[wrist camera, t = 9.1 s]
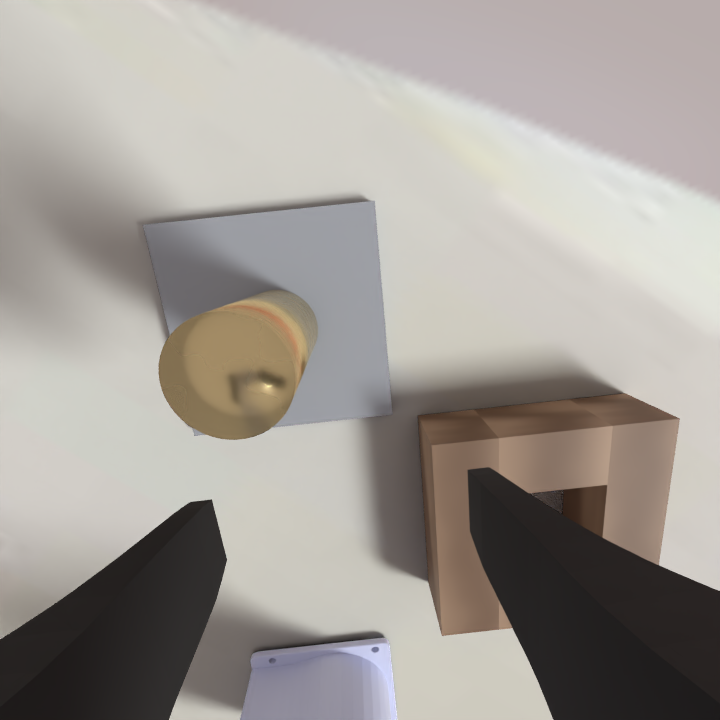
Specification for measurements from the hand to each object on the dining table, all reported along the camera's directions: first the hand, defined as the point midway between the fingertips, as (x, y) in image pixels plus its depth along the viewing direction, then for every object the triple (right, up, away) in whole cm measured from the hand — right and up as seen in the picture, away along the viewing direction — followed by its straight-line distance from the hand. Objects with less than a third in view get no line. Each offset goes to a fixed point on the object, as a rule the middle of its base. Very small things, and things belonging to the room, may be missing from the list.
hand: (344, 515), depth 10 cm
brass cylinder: (-4, +6, +8) cm, 11 cm away
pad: (-4, +6, +9) cm, 11 cm away
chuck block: (+10, -4, +12) cm, 16 cm away
